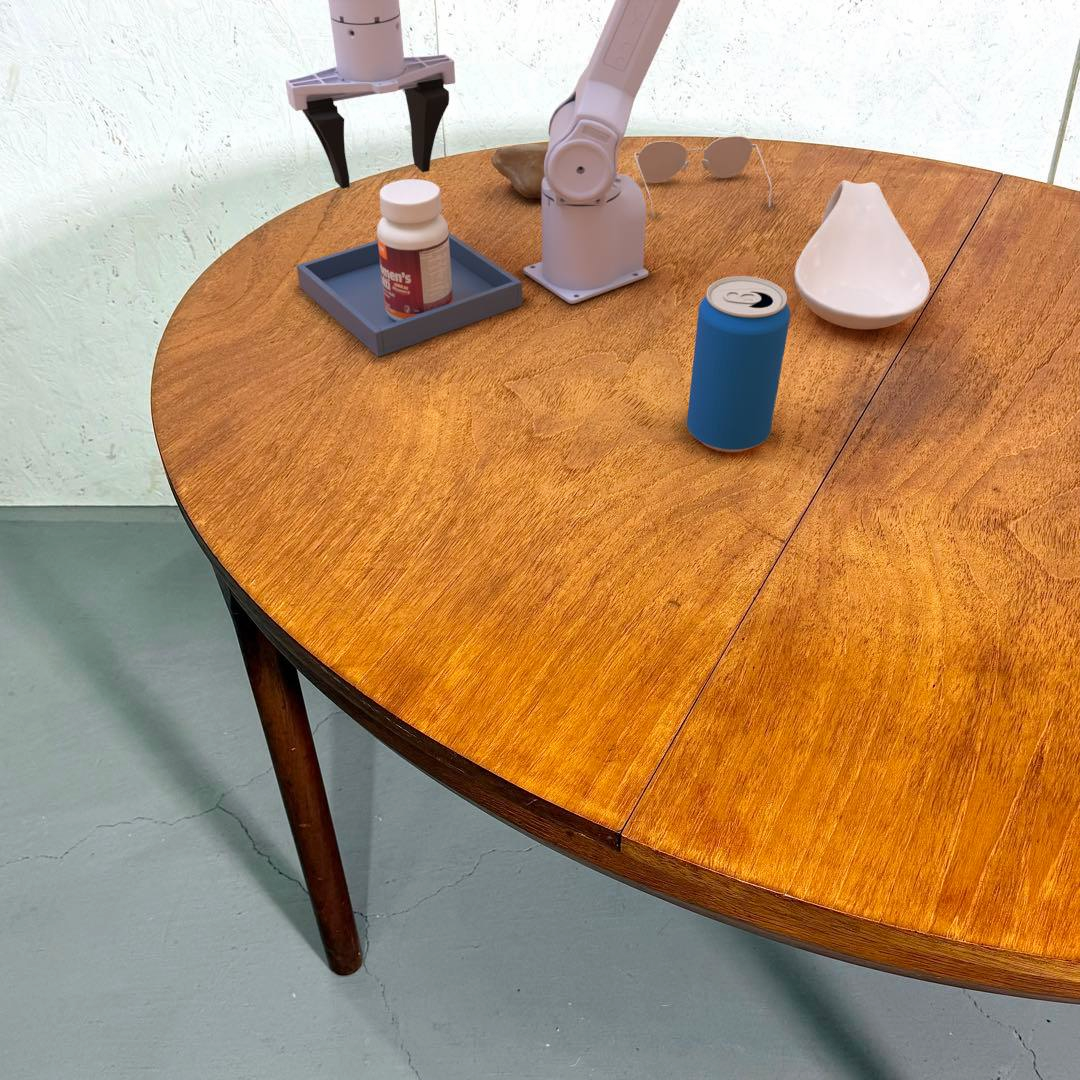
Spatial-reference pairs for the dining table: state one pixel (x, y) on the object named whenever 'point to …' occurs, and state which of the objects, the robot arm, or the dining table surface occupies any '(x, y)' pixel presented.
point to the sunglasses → (670, 157)
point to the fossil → (522, 167)
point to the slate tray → (358, 305)
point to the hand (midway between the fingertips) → (382, 175)
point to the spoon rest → (861, 263)
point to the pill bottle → (413, 249)
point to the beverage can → (737, 362)
